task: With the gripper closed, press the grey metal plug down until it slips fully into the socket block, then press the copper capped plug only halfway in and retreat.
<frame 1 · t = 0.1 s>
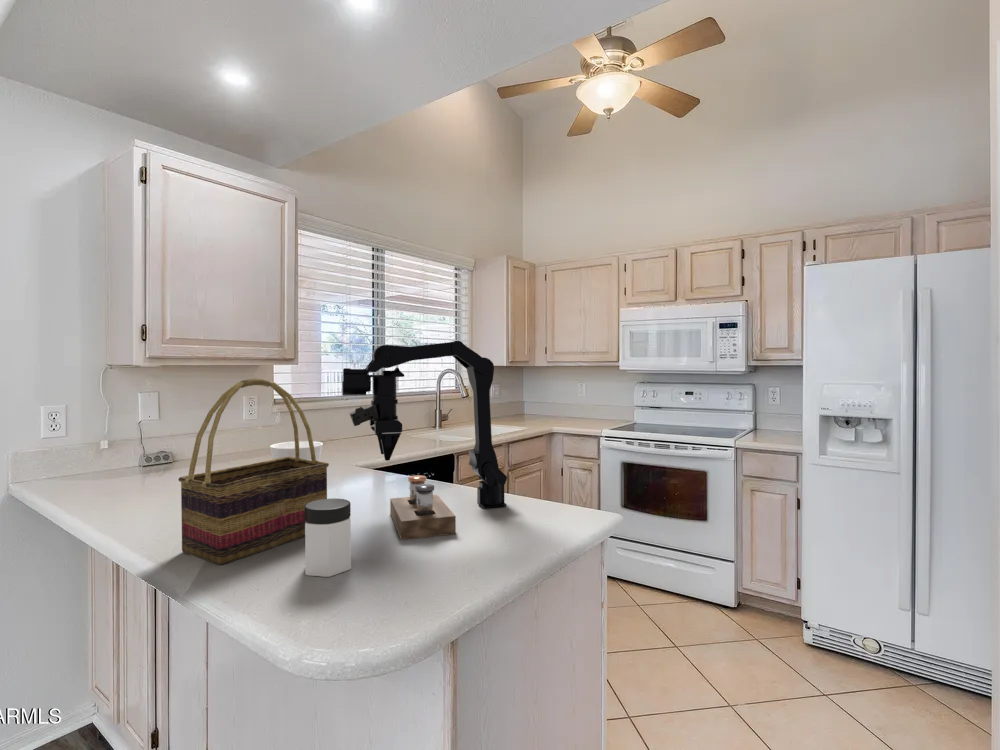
hand: (385, 457, 128), 15 cm above the countertop, fingers open, 9 cm apart
basket: (259, 541, 110), on the countertop
grey plug: (424, 501, 116), point 7 cm above the countertop, slide at 0.0 cm
socket block: (420, 523, 121), on the countertop
cup: (297, 502, 141), on the countertop
jar: (328, 569, 94), on the countertop
copper capped plug: (417, 491, 125), point 7 cm above the countertop, slide at 0.0 cm
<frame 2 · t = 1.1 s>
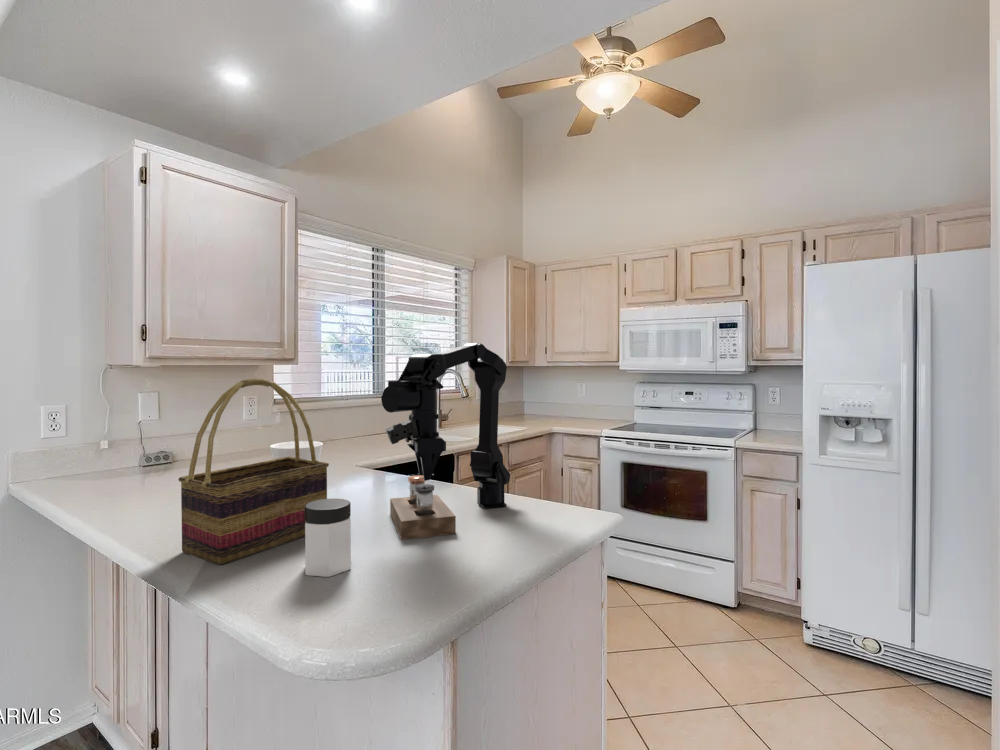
hand: (424, 477, 116), 12 cm above the countertop, fingers open, 6 cm apart
nothing on the countertop moved.
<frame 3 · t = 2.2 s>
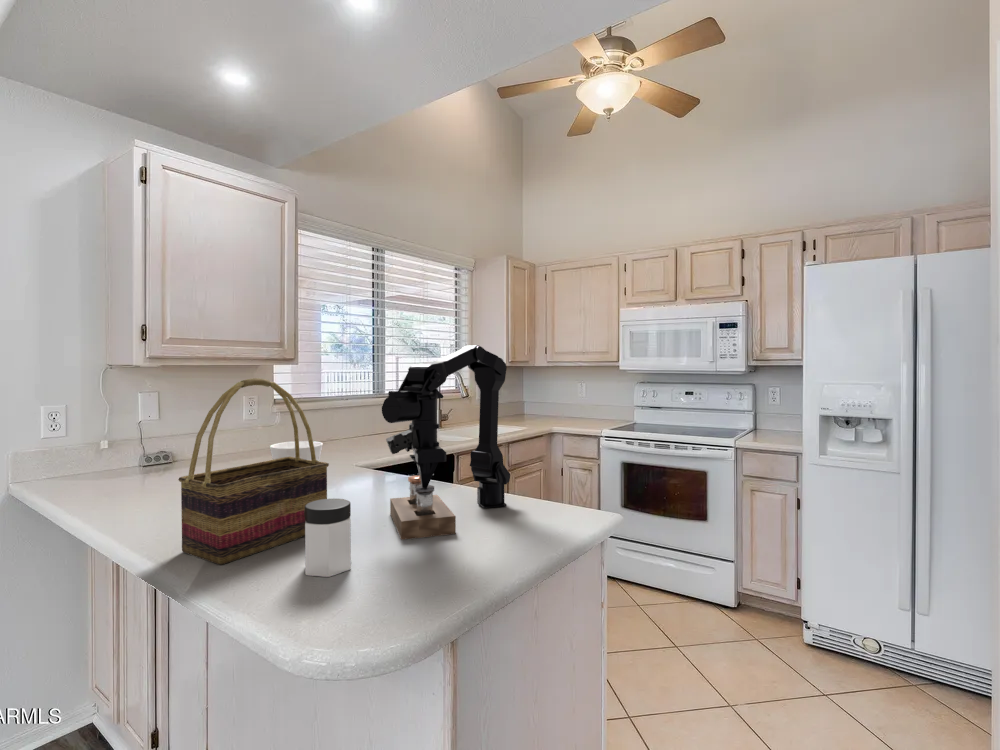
hand: (424, 487, 116), 10 cm above the countertop, fingers closed, pressing on grey plug
grey plug: (424, 502, 116), point 6 cm above the countertop, slide at 0.2 cm, touching gripper
everything else where it was.
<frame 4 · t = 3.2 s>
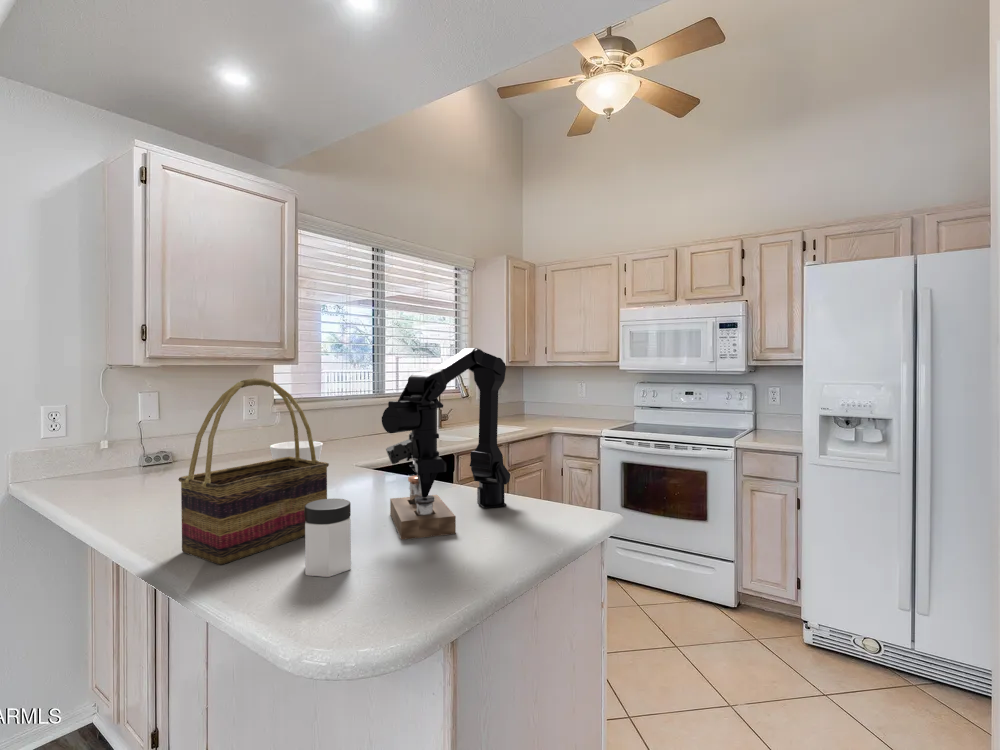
hand: (424, 496, 116), 8 cm above the countertop, fingers closed
grey plug: (424, 512, 116), point 4 cm above the countertop, slide at 2.6 cm
everything else where it was.
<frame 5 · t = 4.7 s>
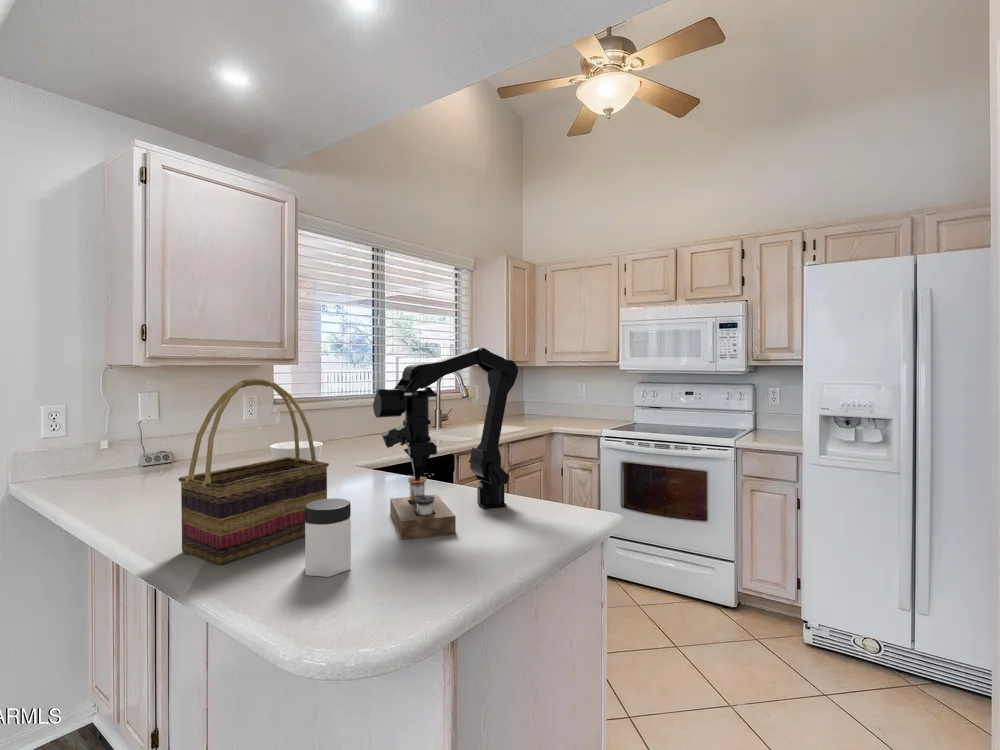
hand: (417, 478, 125), 10 cm above the countertop, fingers closed, pressing on copper capped plug
copper capped plug: (417, 492, 125), point 6 cm above the countertop, slide at 0.3 cm, touching gripper
everything else where it was.
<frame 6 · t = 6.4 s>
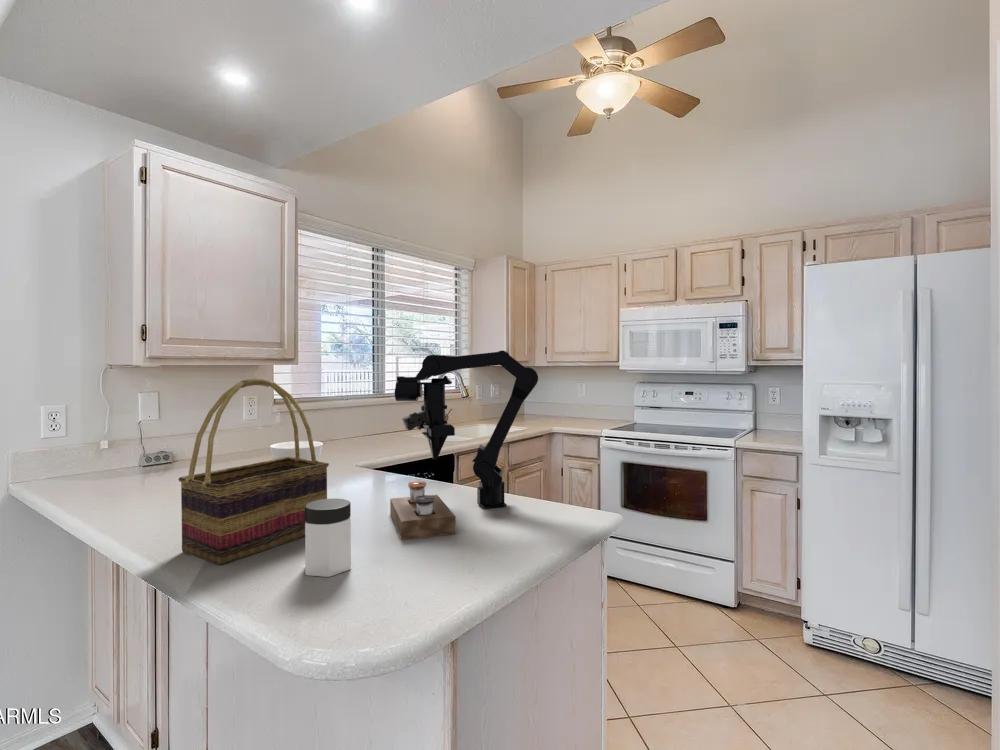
hand: (435, 458, 137), 12 cm above the countertop, fingers closed
copper capped plug: (417, 496, 126), point 5 cm above the countertop, slide at 1.4 cm
everything else where it was.
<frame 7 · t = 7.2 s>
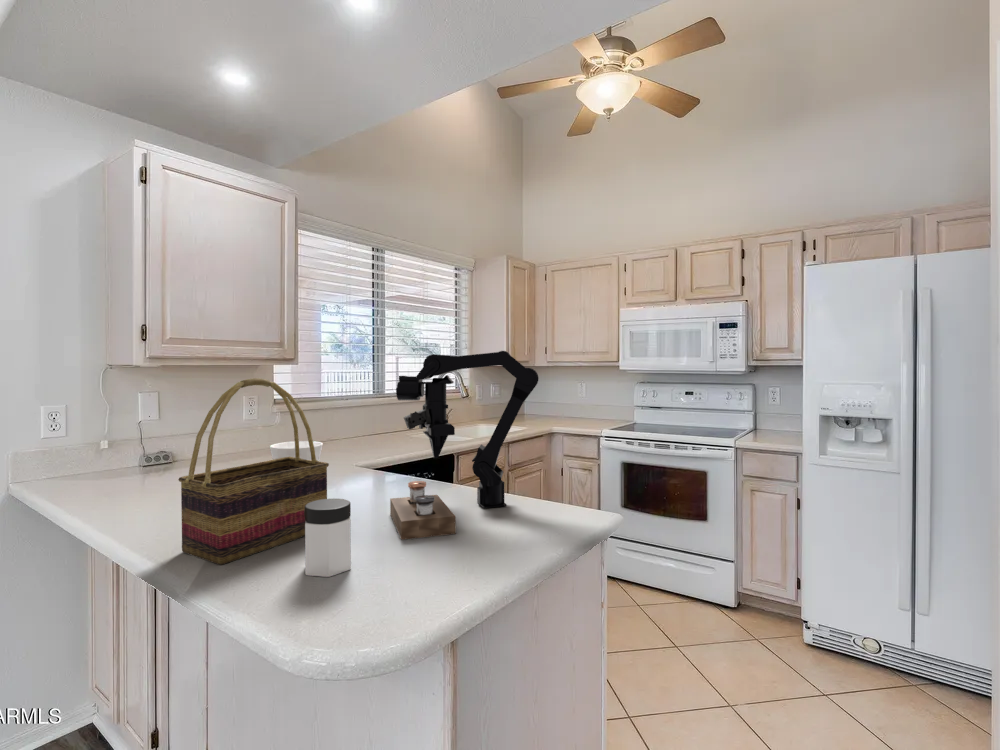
hand: (435, 457, 138), 13 cm above the countertop, fingers closed
nothing on the countertop moved.
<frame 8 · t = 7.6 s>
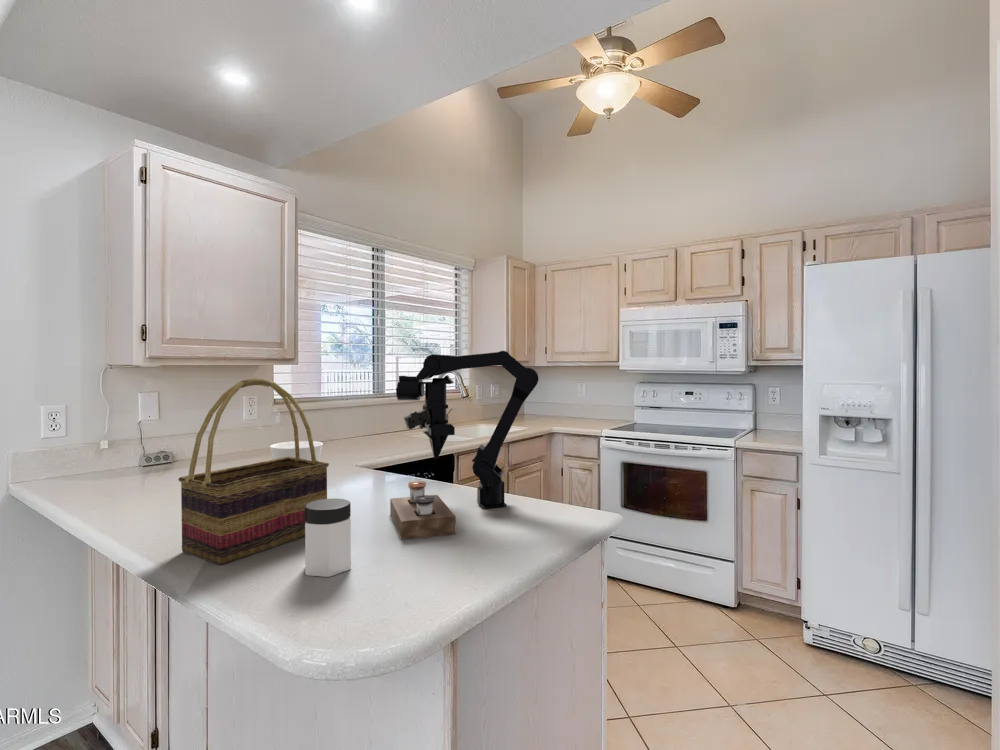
hand: (435, 457, 138), 13 cm above the countertop, fingers closed
nothing on the countertop moved.
at the end: grey plug slide at 2.6 cm; copper capped plug slide at 1.4 cm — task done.
